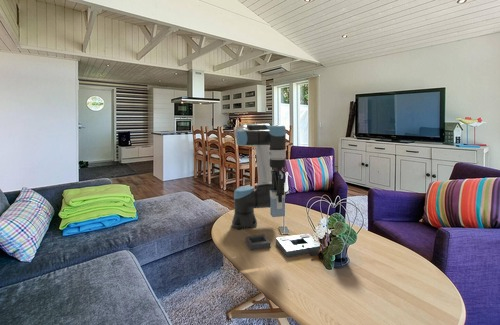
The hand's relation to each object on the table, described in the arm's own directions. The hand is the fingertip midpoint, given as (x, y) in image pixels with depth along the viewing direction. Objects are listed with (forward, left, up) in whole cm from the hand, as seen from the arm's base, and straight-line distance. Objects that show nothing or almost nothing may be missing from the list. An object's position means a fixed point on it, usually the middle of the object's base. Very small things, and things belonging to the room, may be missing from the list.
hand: (277, 206), depth 124 cm
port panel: (+4, +9, -21) cm, 24 cm away
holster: (-5, -9, -21) cm, 24 cm away
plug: (0, 0, -4) cm, 4 cm away
